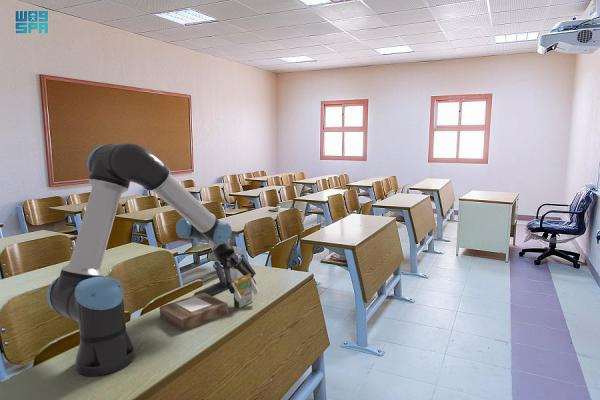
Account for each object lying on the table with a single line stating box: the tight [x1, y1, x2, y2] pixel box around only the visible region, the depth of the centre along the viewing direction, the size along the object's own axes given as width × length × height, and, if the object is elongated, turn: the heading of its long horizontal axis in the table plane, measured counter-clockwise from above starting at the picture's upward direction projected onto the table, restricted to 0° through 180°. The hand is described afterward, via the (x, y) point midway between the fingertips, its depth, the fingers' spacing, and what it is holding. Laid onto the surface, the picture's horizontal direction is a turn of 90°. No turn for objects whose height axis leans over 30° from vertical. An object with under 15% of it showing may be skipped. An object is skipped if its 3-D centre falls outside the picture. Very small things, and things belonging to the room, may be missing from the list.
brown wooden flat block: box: [159, 293, 229, 332], centre depth 141 cm, size 18×16×4 cm
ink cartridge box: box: [230, 245, 245, 282], centre depth 178 cm, size 9×5×15 cm, turn 47°
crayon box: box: [232, 273, 253, 309], centre depth 150 cm, size 7×3×12 cm, turn 144°
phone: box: [193, 282, 229, 297], centre depth 165 cm, size 8×1×15 cm
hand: (248, 296), depth 148 cm, fingers closed on crayon box, 7 cm apart
